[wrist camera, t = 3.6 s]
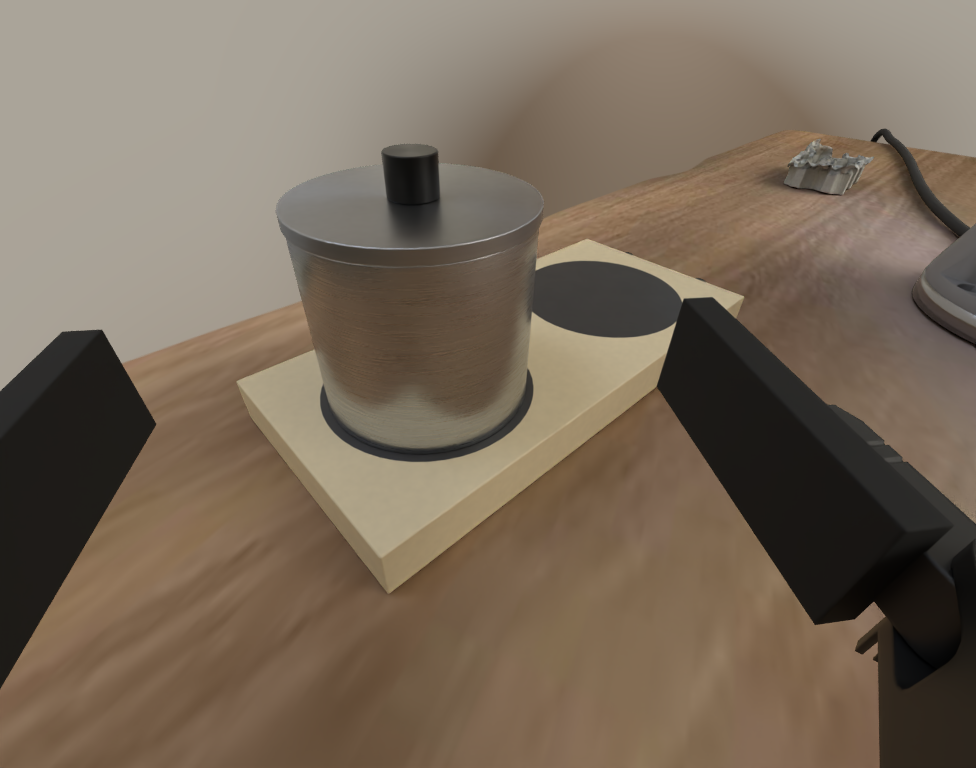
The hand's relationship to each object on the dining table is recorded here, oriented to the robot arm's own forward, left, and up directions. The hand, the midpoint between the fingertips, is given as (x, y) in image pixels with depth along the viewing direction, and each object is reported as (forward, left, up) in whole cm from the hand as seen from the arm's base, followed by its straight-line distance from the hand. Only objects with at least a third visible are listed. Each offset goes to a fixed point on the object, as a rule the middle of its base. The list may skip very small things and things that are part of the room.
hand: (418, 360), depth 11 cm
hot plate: (-12, -7, -10) cm, 18 cm away
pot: (-5, -7, -8) cm, 12 cm away
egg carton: (-69, -9, -11) cm, 71 cm away
